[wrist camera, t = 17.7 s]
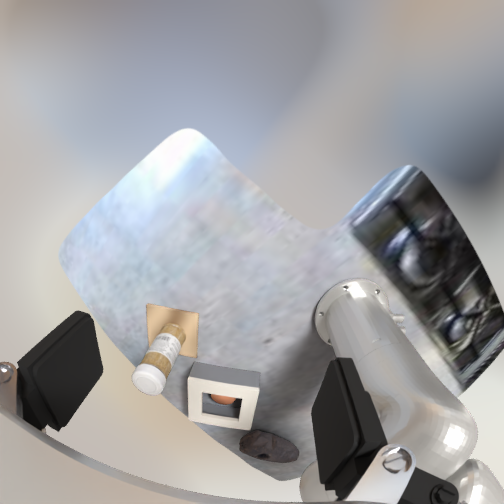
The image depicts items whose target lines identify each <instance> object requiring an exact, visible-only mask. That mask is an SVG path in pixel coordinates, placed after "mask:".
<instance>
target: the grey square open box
mask: <svg viewBox="0 0 504 504" xmlns="http://www.w3.org/2000/svg"><path fill="white" fill-rule="evenodd" d="M259 387H260V372H255V371H247V370H240V369H233V368H227V367H220V366H215V365H209V364H203V363H198V362H194V364H193V367H192V369H191V372H190V375H189V377H188V413H189V420H190V421H194V422H199V423H204V424H210V425H215V426H221V427H228V428H235V429H242V430H250V429H251V425H252V421H253V416H254V412H255V408H256V403H257V399H258V395H259ZM203 392H204V393H209V394H215V395H221V396H227V397H234V398H241V399H242V404H241V409H239V408H232V407H225V406H219V405H213V404H208V403H202V401H203Z"/></svg>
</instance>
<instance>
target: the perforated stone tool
mask: <svg viewBox="0 0 504 504" xmlns="http://www.w3.org/2000/svg"><path fill="white" fill-rule="evenodd" d="M239 444H240V451H241V452H243V453H245V454H247V455H249V456H252V457H254V458H257V459H260V460H265V461H271V462H280V463H287V462H293V461H295V460H297V458H298V456H299V451H298V449H297V447H296V446H295V445H294V444H293V443H291V442H290V441H288V440H285V439H282V438H281V437H278V436H276V435H273V434H271V433H267V432H266V433H265V432H261V431H259V430H255V431H253V432H249V433H247V434H246V435H244V436H243V437H242V438H241V440H240V443H239Z"/></svg>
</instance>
